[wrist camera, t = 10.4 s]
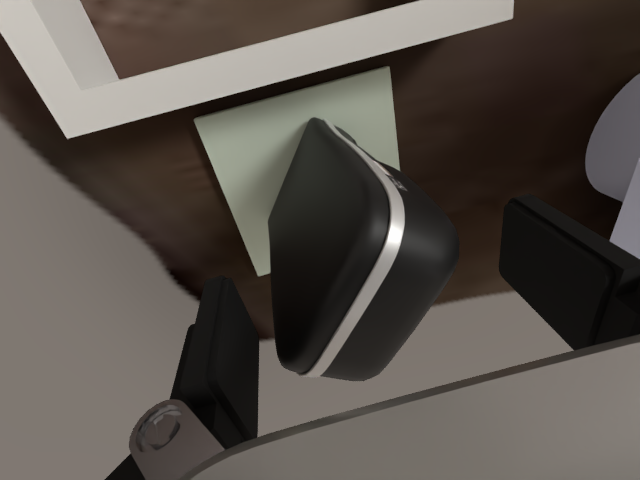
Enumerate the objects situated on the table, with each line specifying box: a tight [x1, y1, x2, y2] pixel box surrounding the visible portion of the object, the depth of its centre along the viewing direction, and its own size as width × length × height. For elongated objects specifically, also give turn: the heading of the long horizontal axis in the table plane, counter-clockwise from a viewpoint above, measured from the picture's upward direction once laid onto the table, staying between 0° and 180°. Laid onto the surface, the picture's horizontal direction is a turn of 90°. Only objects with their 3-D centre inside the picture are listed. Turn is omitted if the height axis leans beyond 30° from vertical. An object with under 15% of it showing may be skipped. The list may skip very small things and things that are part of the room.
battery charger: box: [268, 117, 459, 381], centre depth 14 cm, size 7×4×11 cm, turn 156°
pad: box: [194, 66, 400, 276], centre depth 19 cm, size 10×10×1 cm
